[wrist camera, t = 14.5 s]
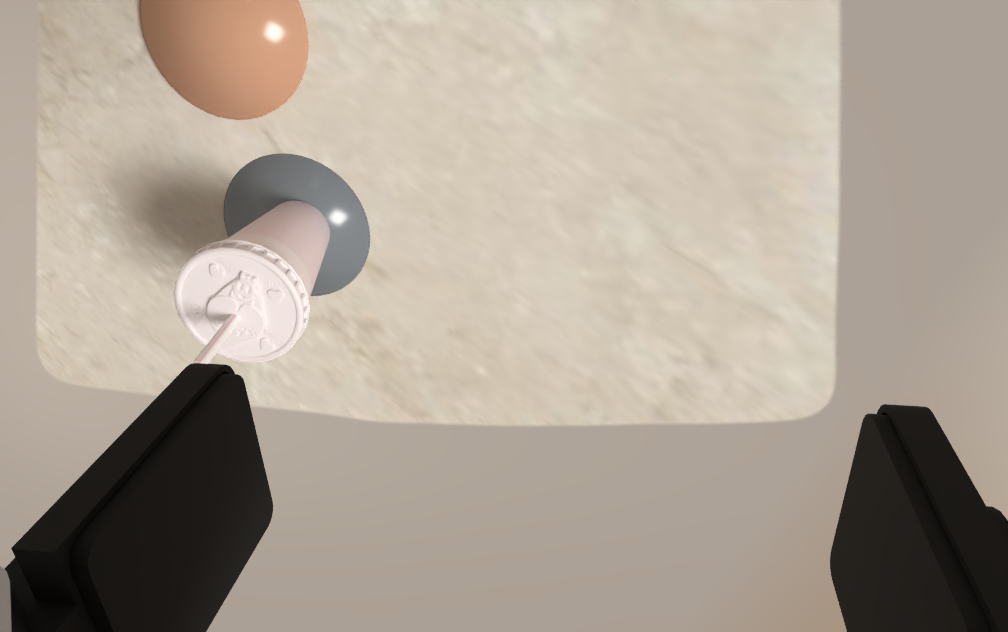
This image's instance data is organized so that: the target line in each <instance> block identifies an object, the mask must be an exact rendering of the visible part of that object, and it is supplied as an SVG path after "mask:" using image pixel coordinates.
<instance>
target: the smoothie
mask: <svg viewBox="0 0 1008 632" xmlns="http://www.w3.org/2000/svg"><path fill="white" fill-rule="evenodd" d="M329 239H330V229H329V225H328V222H327V220H326V219H325V217H324V216H323V214H322V213H321V212H320V211H319V210H318V209H317V208H315V207H314V206H312V205H310V204H308V203H306V202H302V201H286V202H283V203H281V204H279V205H278V206H276V207H275V208H273V209H272V210H270V211H269V212H267V213H266V214H264V215H263V216H261V217H259V218H258V219H256V220H255V221H253V222H252V223H250V224H249V225H247V226H246V227H244V228H243V229H241V230H240V231H238V232H237V233H235V234H233V235H232V236H230V237H229V238H227V239H225V240H221V241H217V242H212V243H209V244H208V245H206V246H204V247H202V248H200V249H198V250H197V251H196V252H195V253H194V254H193V255H192V256H191V257H190V258H189V259H188V260H187V262H186V264H185V265H184V266H183V267H182V269H181V270H180V272H179V274H178V276H177V279H176V282H175V287H174V299H175V305H176V309H177V312H178V314H179V317H180V319H181V321H182V322H183V324H184V326H185V327H186V328H187V330H188V331H189V332H190V334H191V335H192V336H193V337H194V338H195V339H196V340H197V341H198V342H200V343H201V344H202V345H203V346H205V348H204V349H203V350H202V351H201V353H200V354H199V355H198V357H197V358H196V359H195V360H194V362H193V363H203V364H209V362H210V361H211V360H212V358H213V357H214V356H215V354H218V355H220V356H223V357H225V358H228V359H231V360H235V361H240V362H253V363H255V362H264V361H268V360H272V359H275V358H277V357H279V356H281V355H283V354H284V353H286V352H287V351H288V350H290V349H291V347H292V346H293V345H294V344H295V343H296V341H297V340H298V339H299V338H300V337H301V335H302V333H303V331H304V330H305V328H306V326H307V324H308V319H309V313H310V305H309V299H310V296H311V293H312V290H313V287H314V284H315V281H316V278H317V275H318V272H319V269H320V266H321V263H322V260H323V258H324V255H325V252H326V249H327V246H328V243H329ZM193 363H192V364H193Z"/></svg>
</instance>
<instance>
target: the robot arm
mask: <svg viewBox="0 0 1008 632" xmlns="http://www.w3.org/2000/svg"><path fill="white" fill-rule="evenodd" d="M272 512H273V503H272V497H271V493H270V489H269V485H268V480H267V476H266V472H265V468H264V463H263V459H262V455H261V451H260V447H259V443H258V438H257V434H256V430H255V425H254V422H253V417H252V413H251V408H250V404H249V400H248V396H247V391H246V387H245V383H244V380H243V378H242V377H241V376H240V375H236V374H235V373H234V371H233V369H232V368H231V367H230V366H228V365H220V364H203V363H193V364H190V365H189V366H187V367H186V368H185V369H184V370H183V371H182V372H181V373H180V374H179V375H178V376H177V377H176V378H175V379H174V380H173V381H172V382H171V383H170V385H169V386H168V387H167V388H166V389H165V390H164V391H163V392H162V393H161V394H160V395H159V396H158V397H157V398H156V399H155V400H154V401H153V402H152V403H151V404H150V405H149V406H148V407H147V408H146V409H145V410H144V412H143V413H142V414H141V415H140V416H139V417H138V418H137V419H136V420H135V421H134V422H133V423H132V424H131V425H130V426H129V427H128V428H127V429H126V430H125V431H124V432H123V433H122V434H121V435H120V436H119V437H118V438H117V439H116V440H115V442H114V443H113V444H112V445H111V446H110V447H109V448H108V449H107V450H106V451H105V452H104V453H103V454H102V455H101V456H100V457H99V458H98V459H97V460H96V461H95V462H94V463H93V464H92V465H91V466H90V467H89V468H88V470H86V472H85V473H84V474H83V475H82V476H81V477H80V478H79V479H78V480H77V481H76V482H75V483H74V484H73V485H72V486H71V487H70V488H69V489H68V490H67V491H66V492H65V493H64V494H63V496H61V497H60V498H59V500H57V502H56V503H55V504H54V505H53V506H52V507H51V508H50V509H49V510H48V511H47V512H46V513H45V514H44V515H43V516H42V517H41V518H40V519H39V520H38V521H37V522H36V523H35V524H34V525H33V526H32V527H31V529H29V531H28V532H27V533H26V534H25V535H24V536H23V537H22V538H21V539H20V540H19V541H18V542H17V543H16V544H15V545H14V546H13V547H12V551H13V553H14V555H15V558H14V560H13V561H12V562H11V563H10V564H9V565H8V566H7V567H6V568H5V569H3V568H2V567H0V632H206V631H207V629H208V627H209V626H210V624H211V622H212V621H213V619H214V617H215V616H216V614H217V612H218V610H219V609H220V607H221V606H222V604H223V602H224V600H225V599H226V597H227V595H228V594H229V592H230V590H231V589H232V587H233V585H234V583H235V582H236V580H237V578H238V577H239V575H240V573H241V572H242V570H243V568H244V566H245V565H246V563H247V561H248V560H249V558H250V556H251V555H252V553H253V551H254V550H255V548H256V546H257V544H258V543H259V541H260V539H261V538H262V536H263V534H264V533H265V531H266V529H267V528H268V526H269V523H270V521H271V517H272ZM830 569H831V576H832V580H833V584H834V587H835V591H836V594H837V598H838V601H839V605H840V608H841V612H842V615H843V619H844V622H845V626H846V629H847V632H1008V521H1007V519H1006V518H1005V517H1004V516H1003V514H1002V513H1001V512H1000V511H999V510H997V509H995V508H994V507H986V505H985V504H984V502H983V500H982V498H981V497H980V495H979V493H978V491H977V490H976V488H975V486H974V485H973V483H972V481H971V479H970V477H969V476H968V474H967V472H966V470H965V469H964V467H963V465H962V463H961V462H960V460H959V458H958V456H957V455H956V453H955V451H954V450H953V448H952V446H951V444H950V442H949V441H948V439H947V437H946V435H945V434H944V432H943V430H942V428H941V427H940V425H939V423H938V422H937V420H936V418H935V416H934V415H933V413H932V412H931V410H930V409H929V408H927V407H919V406H902V405H886V404H884V405H882V406H881V407H880V408H879V410H878V412H877V414H867V415H865V417H864V419H863V422H862V426H861V430H860V434H859V438H858V442H857V446H856V451H855V455H854V459H853V463H852V468H851V471H850V476H849V480H848V484H847V488H846V492H845V496H844V500H843V504H842V509H841V513H840V517H839V521H838V525H837V529H836V533H835V537H834V542H833V546H832V550H831V557H830Z"/></svg>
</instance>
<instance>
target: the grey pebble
mask: <svg viewBox="0 0 1008 632" xmlns="http://www.w3.org/2000/svg"><path fill="white" fill-rule="evenodd" d="M286 201H302V202H306V203H308V204H310V205H312V206H314V207H315V208H317V209H318V210H319V211H320V212H321V213H322V214H323V216H324V217H325V219H326V220H327V222H328V225H329V229H330V239H329V243H328V246H327V249H326V252H325V255H324V258H323V260H322V263H321V266H320V269H319V272H318V275H317V278H316V281H315V284H314V287H313V290H312V293H311V296H320V295H326V294H330V293H333V292H336V291H338V290H340V289H342V288H343V287H345V286H346V285H348V284H349V283H350V282H351V281H352V280H354V279H355V278H356V276H357V275H358V274H359V272H360V271H361V270H362V268H363V266H364V264H365V262H366V259H367V256H368V252H369V247H370V232H369V225H368V221H367V217H366V214H365V212H364V209H363V207H362V205H361V203H360V201H359V199H358V198H357V196H356V195H355V193H354V192H353V190H352V189H351V188H350V187H349V186H348V184H347V183H346V182H345V181H344V180H343V179H342V178H341V177H340V176H339V175H337V174H336V173H335V172H333V171H332V170H331V169H329V168H328V167H326V166H324V165H322V164H321V163H319V162H316V161H314V160H312V159H309V158H306V157H303V156H298V155H293V154H272V155H268V156H263V157H261V158H258V159H256V160H254V161H252V162H250V163H249V164H247V165H246V166H244V167H243V168H242V169H241V170H240V171H239V172H238V173H237V174H236V176H235V177H234V178H233V180H232V182H231V183H230V185H229V188H228V190H227V193H226V197H225V202H224V220H225V226H226V230H227V233H228V236H229V237H230V236H232V235H233V234H235V233H237V232H238V231H240V230H241V229H243V228H244V227H246V226H247V225H249V224H250V223H252V222H253V221H255V220H256V219H258V218H259V217H261V216H263V215H264V214H266V213H267V212H269V211H270V210H272V209H273V208H275V207H276V206H278V205H279V204H281V203H283V202H286Z"/></svg>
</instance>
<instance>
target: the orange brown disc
mask: <svg viewBox="0 0 1008 632" xmlns="http://www.w3.org/2000/svg"><path fill="white" fill-rule="evenodd" d="M141 23H142V28H143V34H144V37H145V41H146V44H147V47H148V49H149V52H150V54H151V56H152V58H153V60H154V62H155V64H156V66H157V67H158V69H159V70H160V72H161V74H162V75H163V77H164V78H165V79H166V80H167V81H168V83H169V84H170V85H171V86H172V87H173V88H174V89H175V90H176V91H177V92H178V93H179V94H180V95H181V96H182V97H183V98H185V99H186V100H187V101H188V102H190V103H191V104H193V105H194V106H196V107H198V108H199V109H201V110H203V111H205V112H207V113H210V114H213V115H215V116H218V117H222V118H227V119H235V120H245V119H252V118H258V117H260V116H263V115H266V114H268V113H270V112H272V111H274V110H275V109H277V108H279V107H280V106H281V105H283V104H284V103H285V102H286V101H287V100H288V99H289V98H290V97H291V96H292V95H293V94H294V92H295V91H296V89H297V88H298V86H299V84H300V82H301V80H302V78H303V75H304V72H305V69H306V65H307V59H308V46H309V45H308V32H307V27H306V22H305V18H304V15H303V12H302V9H301V6H300V4H299V2H298V0H141Z"/></svg>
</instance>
